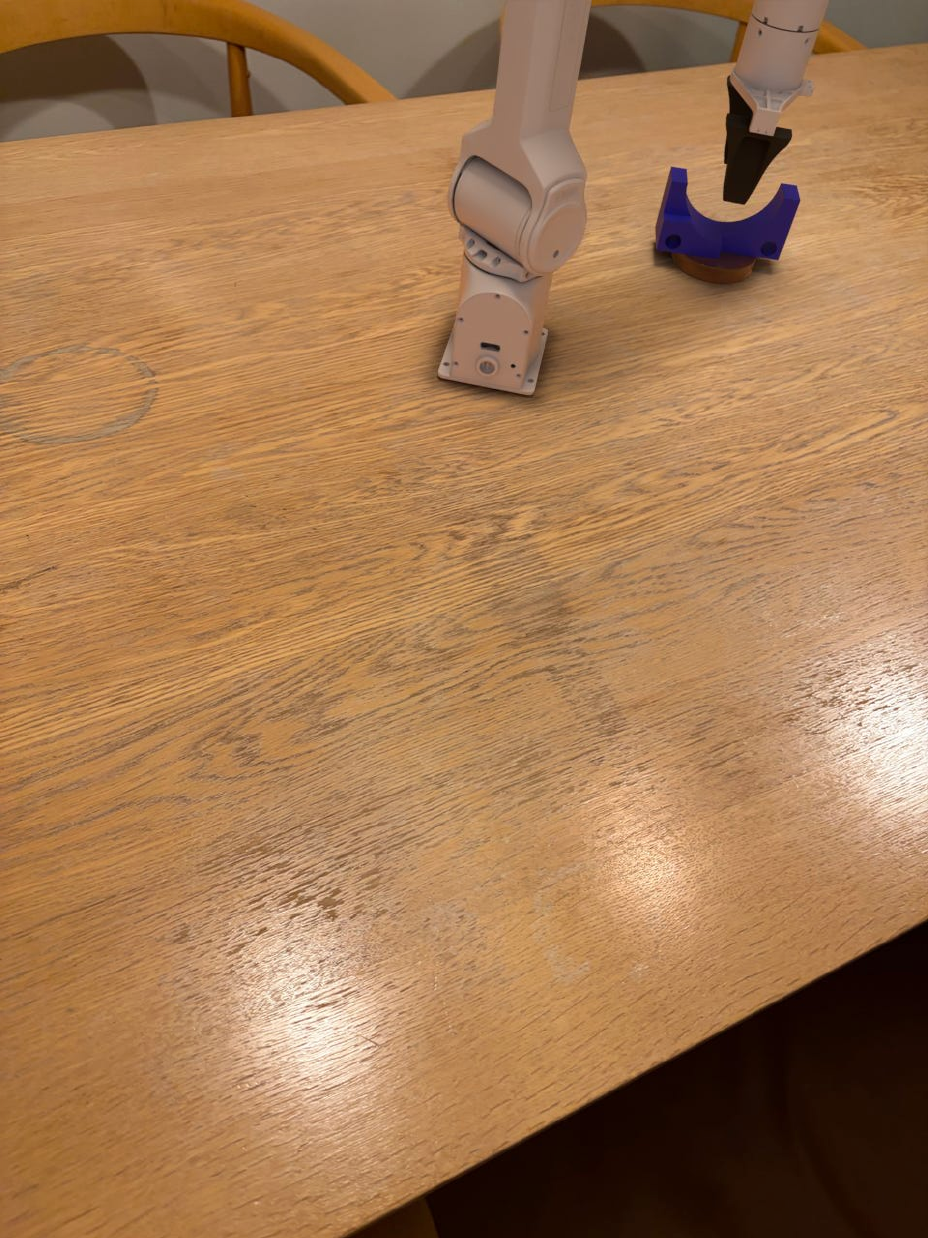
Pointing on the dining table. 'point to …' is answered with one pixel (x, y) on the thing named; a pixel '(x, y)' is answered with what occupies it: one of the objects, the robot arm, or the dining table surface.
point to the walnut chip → (716, 267)
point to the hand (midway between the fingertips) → (734, 182)
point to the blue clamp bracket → (722, 224)
